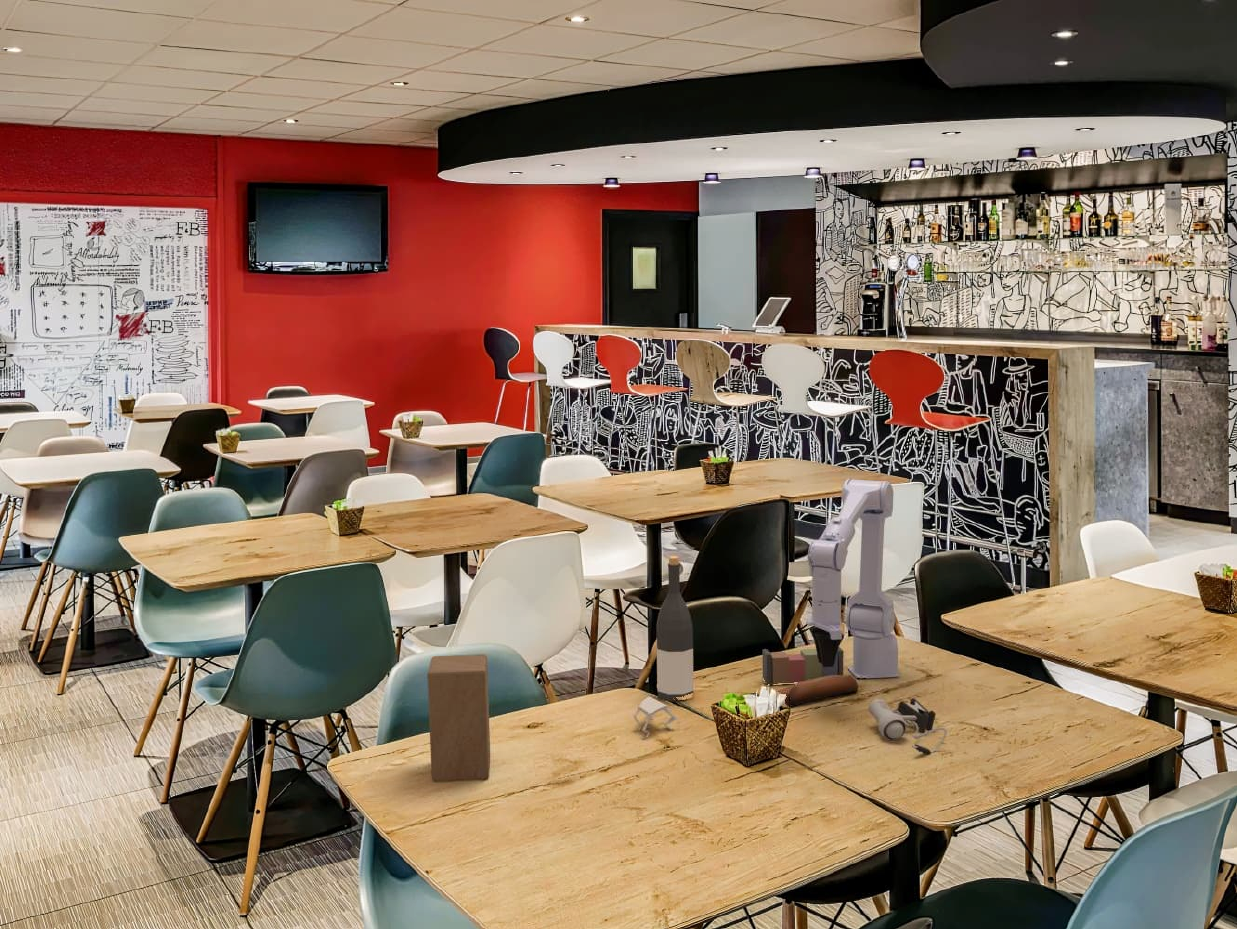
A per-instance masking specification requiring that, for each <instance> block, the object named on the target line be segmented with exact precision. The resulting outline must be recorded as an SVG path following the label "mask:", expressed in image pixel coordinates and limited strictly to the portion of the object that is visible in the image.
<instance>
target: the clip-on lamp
mask: <svg viewBox="0 0 1237 929" xmlns="http://www.w3.org/2000/svg"><path fill="white" fill-rule="evenodd" d="M868 711H869V713H870V714H871V715H872V717H873V718H874V719H875V721H876V723H877V724H878V726H877V727H878V732H879V734H880V735H881V736H882V737H883V738H884V739H886V740H888V741H897V740H899V739H901V738H902V737H903V736H904V735H905V734H906V731H907V725H910V726H911V725H915V727H916V731H915V733H914V735H913V738H914V739H915V740H917V739H920V738H922V737H924V736H927V735H930V734H932V733H934V732H937V731H944V733H943V736H942V739H941V740H940V741H939V743H938V745H937V746H935V748H933V749H932V750H931V749H928V748H926V747H924V746H922V745H919V744H918V743H917V744H916V743H915V745H912V746H911V747H912V748H913V749H915V750H916V751H918V752H919V753H923V754H926V755H931V754H932V753H934V752H936V751H937V750H938V749H939V747H940V746H941V745H942V744H943V743H944V740H945V739H946V737H947V736H946V735H947V729H946V728H945V727H937V728H933V726H934V723H935V719H936V712H935V711H934V710H930V711H929V710H928V709H927V708H925V707H924V706H923V705H922V704H921V703H920V702H919V700H917V699H916V698H911V699H910V703H907V702H905V701H899V703H898V707H897V708H895V709H894V710H892V709H891V707H890V706H888V704H887V703H886V701H884V700H883V699H882V698H875V699H873V700H872V701H871V702H870V703H869V705H868ZM918 733H921V734H919V735H918Z"/></svg>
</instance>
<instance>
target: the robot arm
mask: <svg viewBox="0 0 1237 929" xmlns="http://www.w3.org/2000/svg"><path fill="white" fill-rule="evenodd" d="M841 500H842V507H841V509H840V511H839V514H838V516H836V517H833V518H831V519H830V520H829V522H828V524H827V525H826V527H825V529H824V530H823V532H822V534H821V536H820V537H819V539H815V540H813V541H812V542H811V543H810V544H809V546H808V551H807V564H808V567H809V574H810V577H811V578H812V580H811V581H812V584H811V585H812V589H811V591H812V592H811V595H812V597H811V598H812V600H811V601H812V602H811V606H812V607H811V608H812V609H811V619H806V622H805V623H806V625H808V626H809V627H808V630H809V633H810V634H811V636H812V639H813V642H814V645H815V649H816V651H817V656H818V660H819V663H822V665H823V667H833V666H834V663H835V659H836V654H837V651H838V648H839V647H840V645H841V644H842V641H844V639H845V635H844V634H843V630H842V624H843V623H842V622H843V620H842V570H843V569H844V567H845V564H846V561H847V557H848V556H847V555H848V552H849V550H848V547H849V546H850V544H851V542H852V540H853V538H854V536H855V534H856V528H855V524H856V523H857V521H859V519H860V521H861V536H860V538H861V541H860V559H859V560H860V561H859V563H860V564H859V565H860V566H859V588H858V591H856V592H855V593H854V594H852V595H850V597H849V598H848V600H847V606H846V610H845V616H844V621H845V622H844V623H845V626H846V628H847V630H848V631H850V635H852V636H853V638H852V642H853V643H852V644H853V646H852V665H849V666H846V669H847V668H848V669H849V670H848V669H847V670H848V671H849V672H850V671H851V672H850V673H851V674H852V675H853V677H855V679H857V678H866V679H881V678H883V679H885V678H898V677H900V674H899V667H898V666H899V645H898V639H897V637H896V635H895V633H892V632H893V631H894V627H895V624H896V623H895V622H896V614H895V608H894V607H895V603H894V600H893V599H892V598H891V597H889V596H888V595H887V594H886V593H885V592H883V590H882V586H883V564H884V563H883V559H884V536H885V523H886V519H888V518H889V517H892V516H893V510H894V488H893V486H892V484H891V482H890V481H888V480H885V481H881V480H880V481H879V480H865V479H864V480H863V479H853V478H847V479H846V480H845V481H844V483H843V484H842V490H841Z"/></svg>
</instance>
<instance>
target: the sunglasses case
mask: <svg viewBox="0 0 1237 929" xmlns="http://www.w3.org/2000/svg"><path fill="white" fill-rule="evenodd" d="M777 691H778V692H779V693H781V694H786V696H787V697H786V699H785V704H786V705H787V706H786V705H785V706H786V707H788V706H789V707H788V708H790V707H791V706H792V707H793V706H797V705H801V704H804V703H807V702H811V701H814V700H816V699H823V698H827V697H831V696H837V695H842V694H846V693H847V694H848V693H852V692H854V691H855V692H854V693H856V692H857V693H858V692H859V684H858V681H857V679H856V678H854V676H851V675H845V674H843V675H831V676H824V677H820V678H816V679H812V680H811V679H809V680H806V681H803V682H798V683H797V684H796V685H789V686H788V687H785V688H781V689H779V690H777Z"/></svg>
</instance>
